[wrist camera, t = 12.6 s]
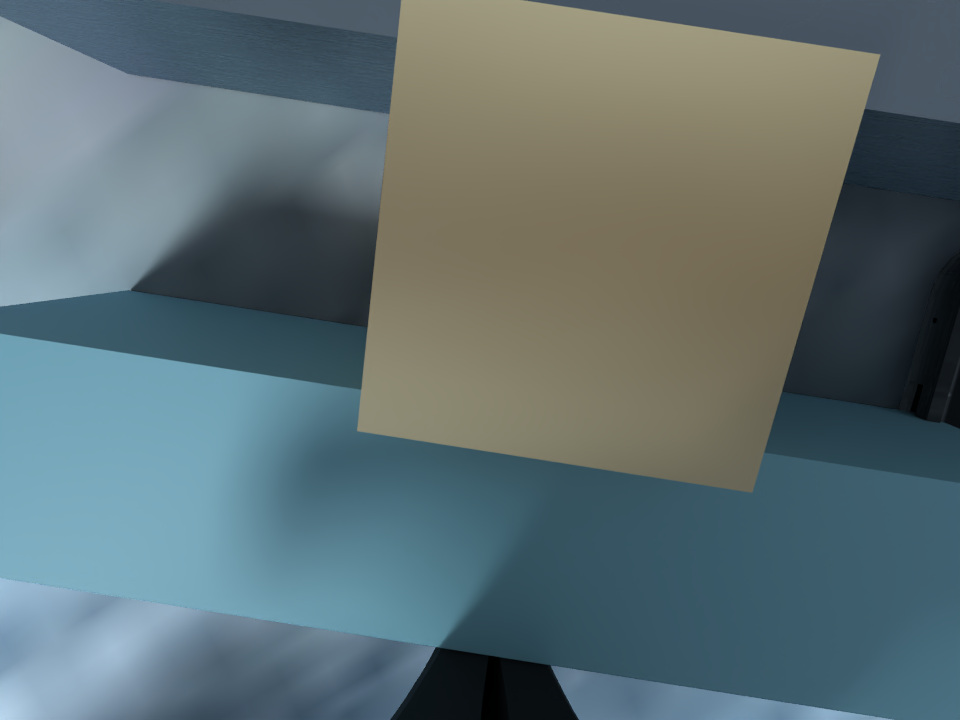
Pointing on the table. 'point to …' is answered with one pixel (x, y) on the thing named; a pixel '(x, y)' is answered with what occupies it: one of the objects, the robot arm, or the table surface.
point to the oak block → (600, 234)
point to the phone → (938, 353)
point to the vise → (376, 3)
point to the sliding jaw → (469, 516)
